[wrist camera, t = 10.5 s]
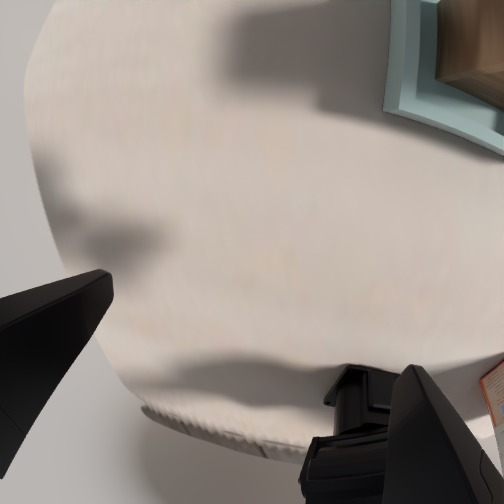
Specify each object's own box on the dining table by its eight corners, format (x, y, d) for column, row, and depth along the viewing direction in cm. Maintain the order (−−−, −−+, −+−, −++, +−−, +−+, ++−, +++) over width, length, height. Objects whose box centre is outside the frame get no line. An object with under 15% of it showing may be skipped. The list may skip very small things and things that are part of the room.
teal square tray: (520, 165, 13) (550, 178, 10) (382, 110, 15) (398, 108, 11) (526, 29, 8) (553, 22, 4) (390, -37, 9) (401, -63, 6)
